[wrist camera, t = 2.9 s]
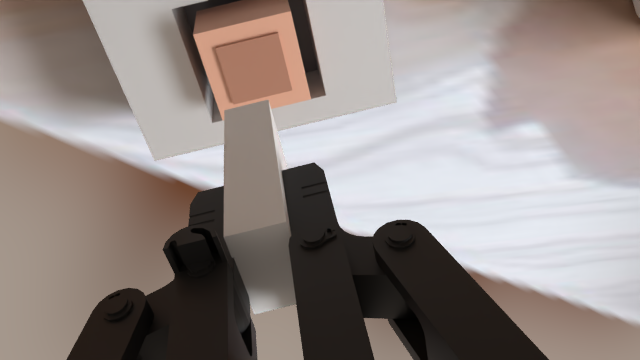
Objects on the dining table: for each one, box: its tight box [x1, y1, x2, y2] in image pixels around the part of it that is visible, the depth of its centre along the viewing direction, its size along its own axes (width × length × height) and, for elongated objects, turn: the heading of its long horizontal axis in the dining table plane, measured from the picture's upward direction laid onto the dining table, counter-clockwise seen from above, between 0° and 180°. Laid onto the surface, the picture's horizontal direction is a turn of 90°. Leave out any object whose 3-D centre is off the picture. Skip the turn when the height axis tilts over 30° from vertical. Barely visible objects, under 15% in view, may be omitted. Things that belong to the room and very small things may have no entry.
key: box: [193, 0, 311, 121], centre depth 24 cm, size 4×4×3 cm
